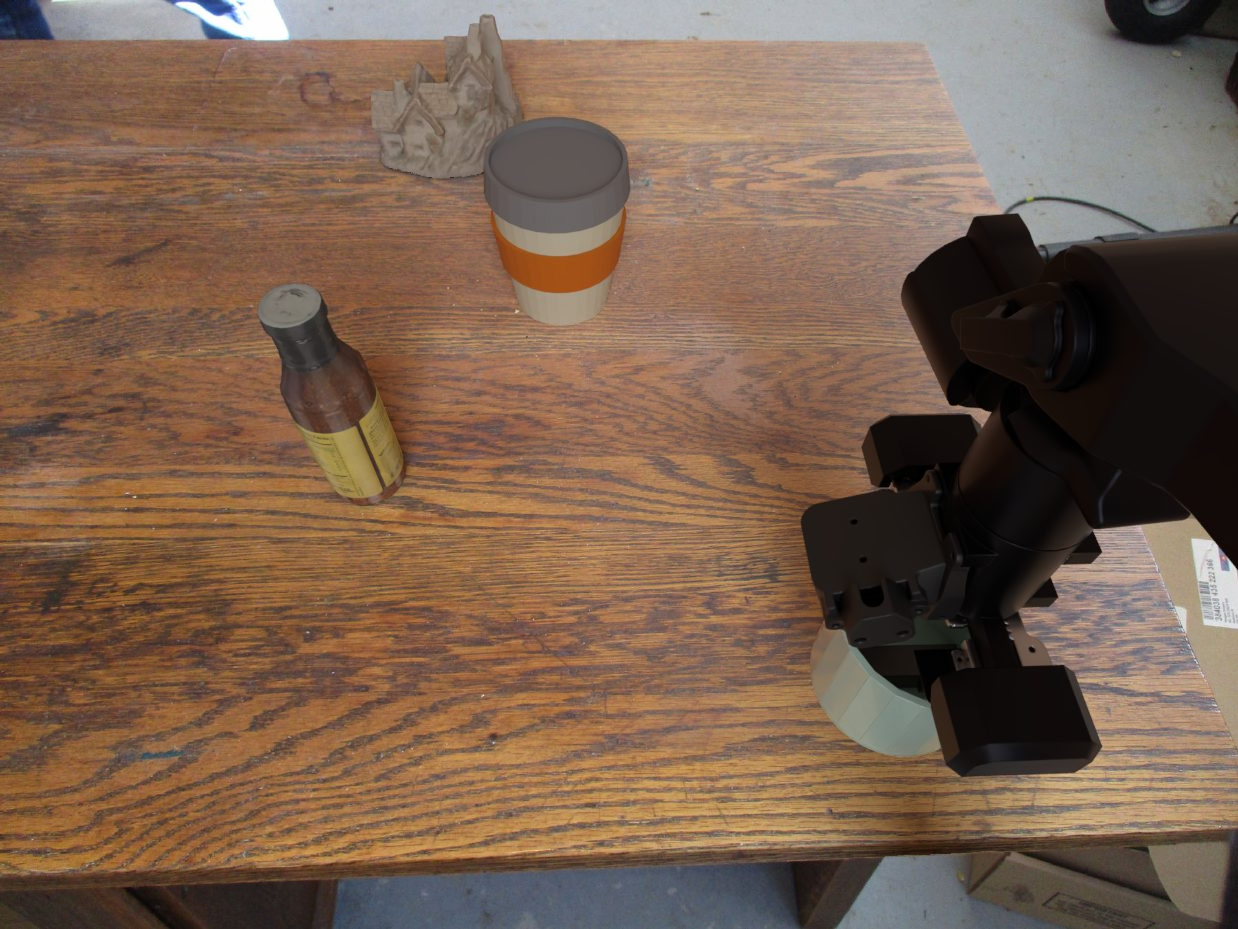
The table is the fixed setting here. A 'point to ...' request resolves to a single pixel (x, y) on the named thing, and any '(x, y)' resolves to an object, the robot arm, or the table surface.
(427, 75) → the ceramic cottage
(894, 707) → the cup
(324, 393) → the sauce bottle
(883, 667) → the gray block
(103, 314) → the table surface
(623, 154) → the reusable coffee cup
